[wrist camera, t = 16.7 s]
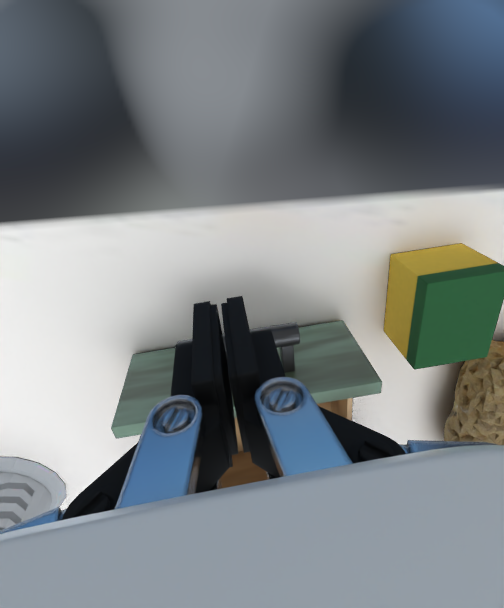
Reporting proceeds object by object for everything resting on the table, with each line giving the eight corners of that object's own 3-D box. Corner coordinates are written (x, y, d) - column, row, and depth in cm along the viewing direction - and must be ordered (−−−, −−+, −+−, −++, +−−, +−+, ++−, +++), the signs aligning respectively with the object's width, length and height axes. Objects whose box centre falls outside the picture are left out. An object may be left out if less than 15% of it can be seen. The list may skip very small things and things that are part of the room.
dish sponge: (461, 242, 26) (512, 270, 22) (446, 320, 30) (487, 357, 25) (390, 254, 26) (427, 283, 21) (383, 331, 29) (414, 369, 25)
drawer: (118, 316, 25) (90, 384, 19) (343, 281, 26) (387, 335, 20) (169, 454, 33) (160, 534, 27) (341, 424, 34) (371, 495, 28)
